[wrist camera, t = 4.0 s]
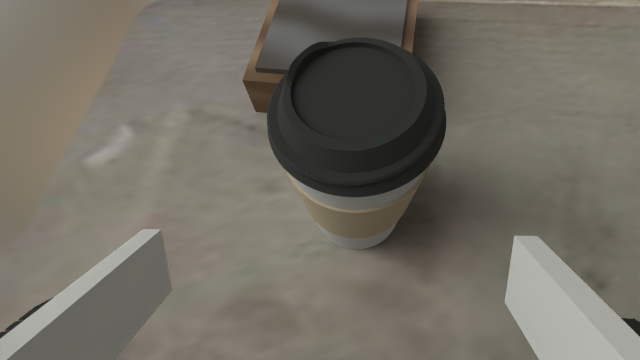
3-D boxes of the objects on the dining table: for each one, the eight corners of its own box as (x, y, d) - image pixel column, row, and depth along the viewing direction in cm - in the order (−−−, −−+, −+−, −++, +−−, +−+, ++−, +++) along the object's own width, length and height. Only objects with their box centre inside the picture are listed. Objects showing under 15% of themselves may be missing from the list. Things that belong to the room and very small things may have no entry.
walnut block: (289, 12, 41) (280, -30, 37) (414, 19, 39) (421, -26, 34) (255, 111, 35) (240, 75, 31) (401, 126, 33) (408, 89, 28)
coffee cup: (436, 200, 29) (498, 64, 16) (367, 288, 27) (372, 214, 13) (348, 143, 33) (340, -9, 19) (279, 216, 30) (215, 100, 17)
